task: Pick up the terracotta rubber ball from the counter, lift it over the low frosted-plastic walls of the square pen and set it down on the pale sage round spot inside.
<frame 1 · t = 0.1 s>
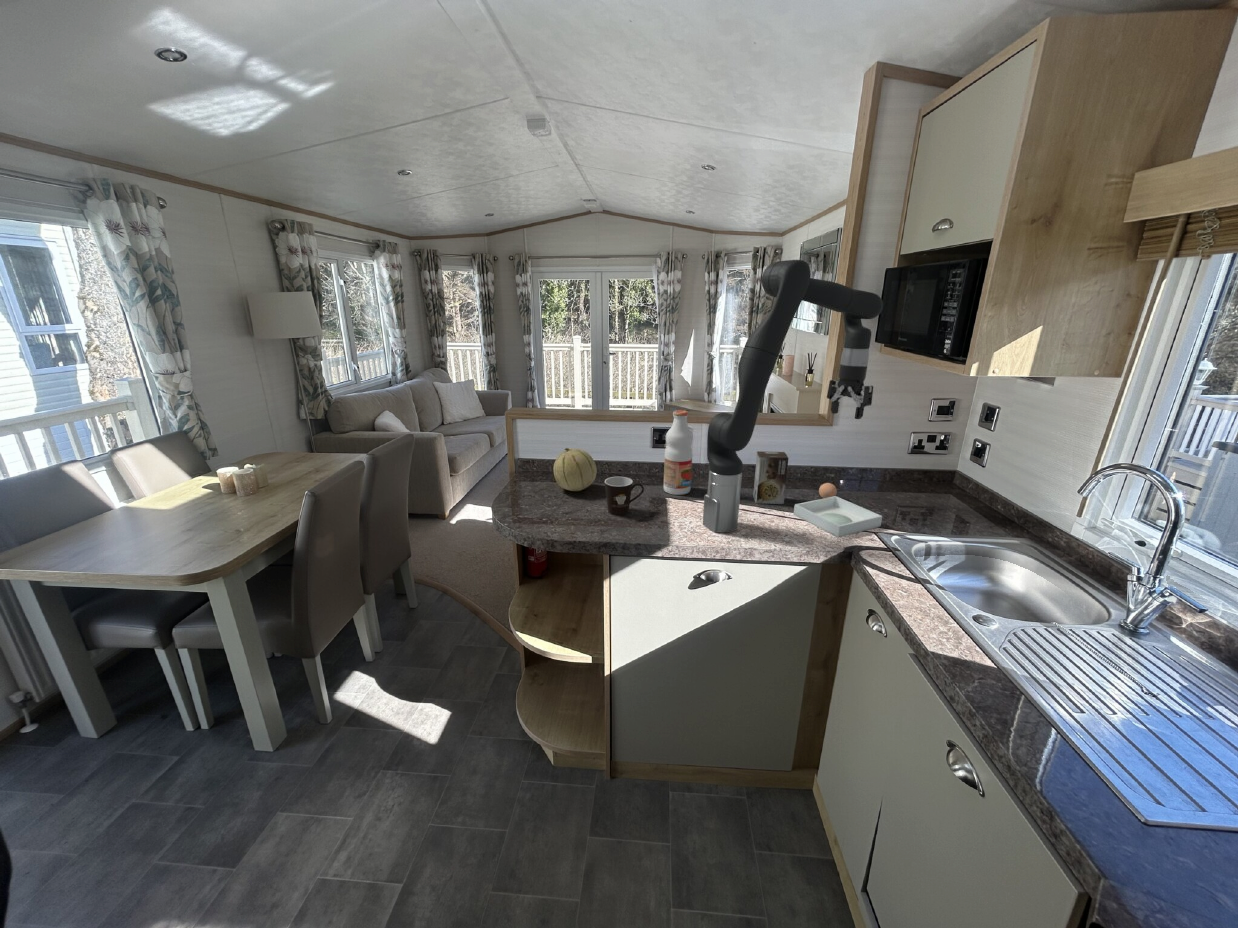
hand: (845, 416, 155), 29 cm above the worktop, tool pointing down, fingers open, 8 cm apart
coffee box: (767, 500, 165), on the worktop
fruit juice: (676, 491, 173), on the worktop
terracotta ball: (827, 491, 166), point 3 cm above the worktop
coffee mug: (623, 512, 155), on the worktop
cantaloupe: (575, 490, 173), on the worktop
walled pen: (835, 520, 150), on the worktop
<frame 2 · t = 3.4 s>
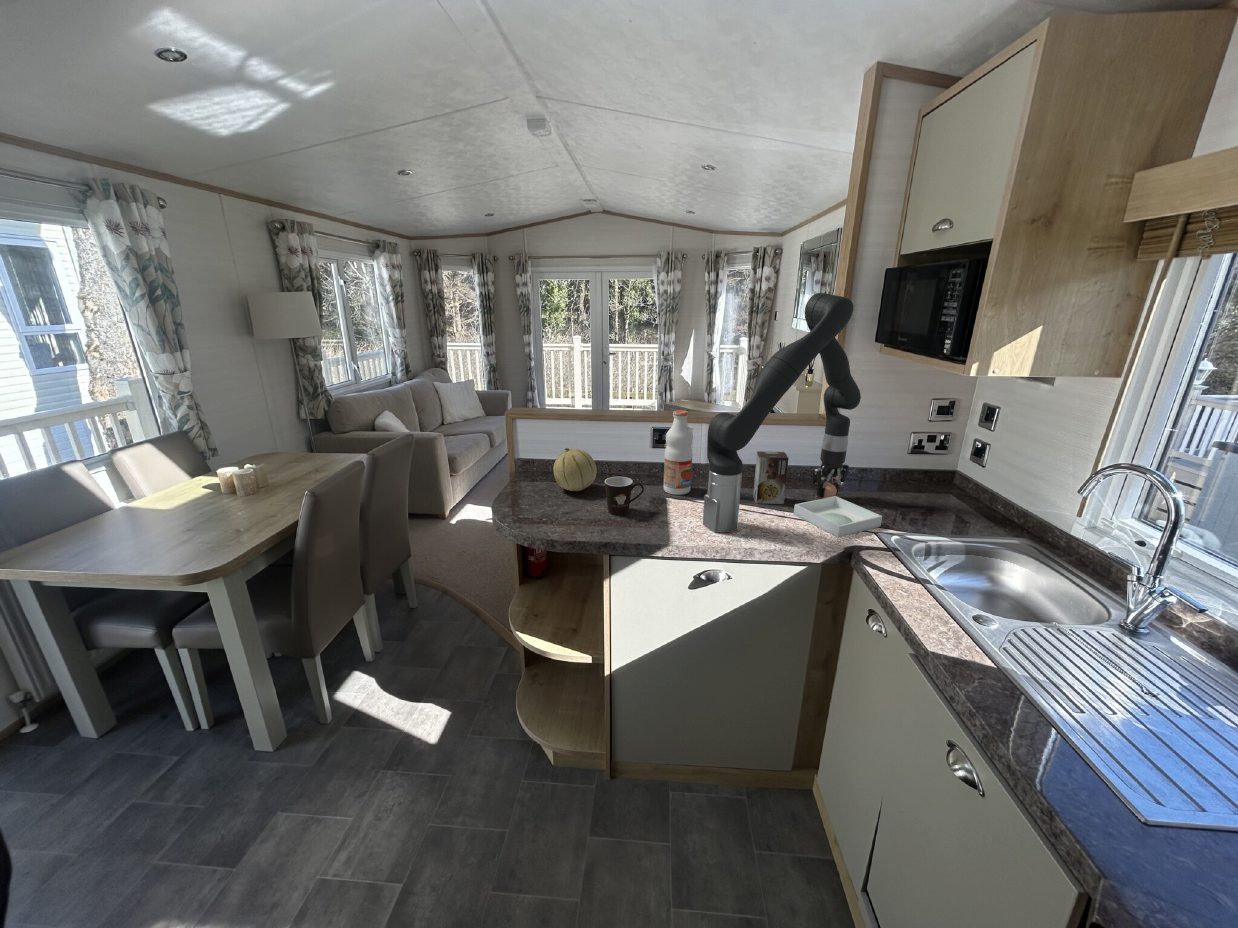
hand: (827, 495, 166), 1 cm above the worktop, tool pointing down, fingers closed on terracotta ball, 5 cm apart
terracotta ball: (827, 491, 166), point 3 cm above the worktop, touching gripper
everything else where it was.
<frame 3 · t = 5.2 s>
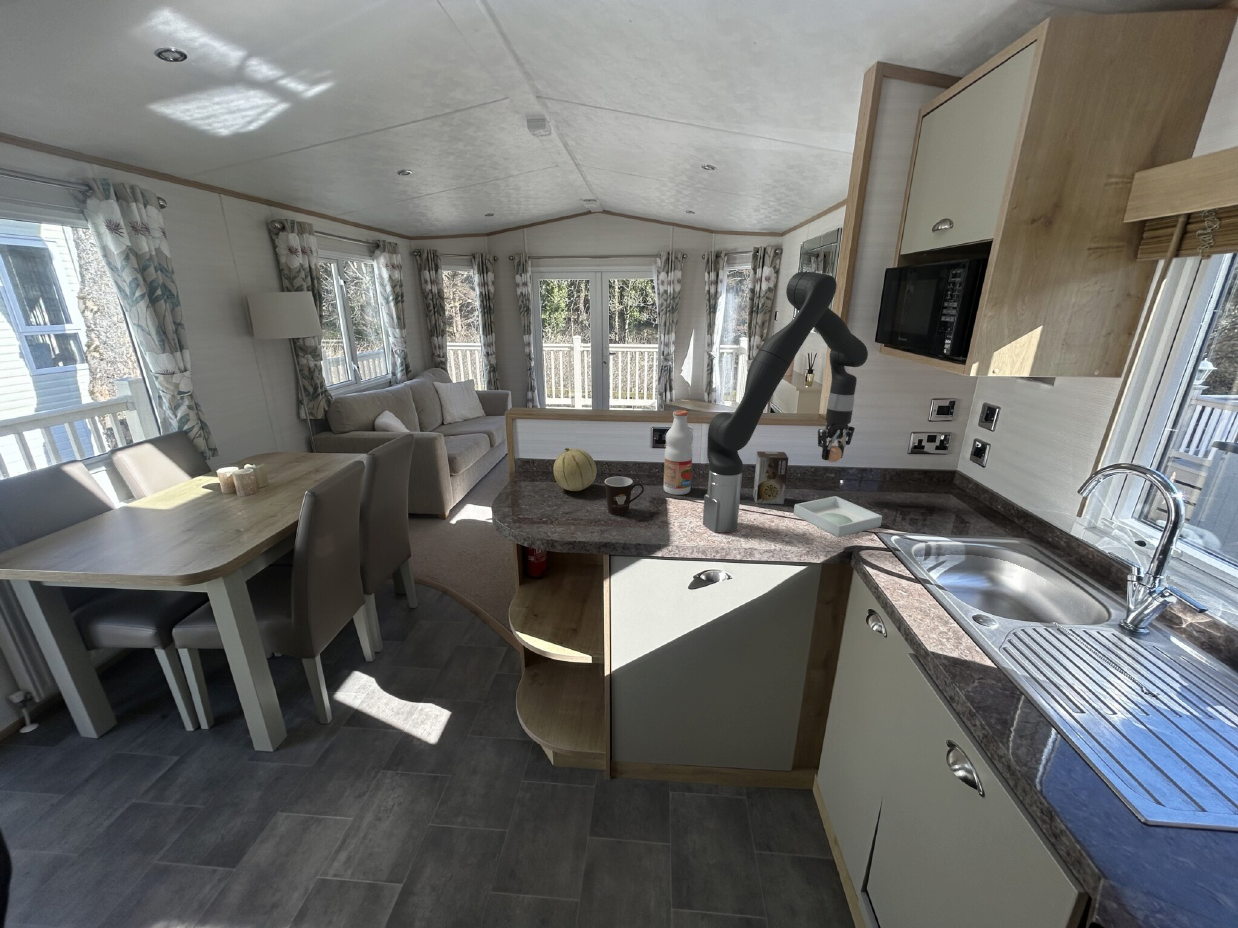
hand: (832, 458, 162), 14 cm above the worktop, tool pointing down, fingers closed on terracotta ball, 5 cm apart
terracotta ball: (832, 453, 162), point 16 cm above the worktop, touching gripper
everything else where it was.
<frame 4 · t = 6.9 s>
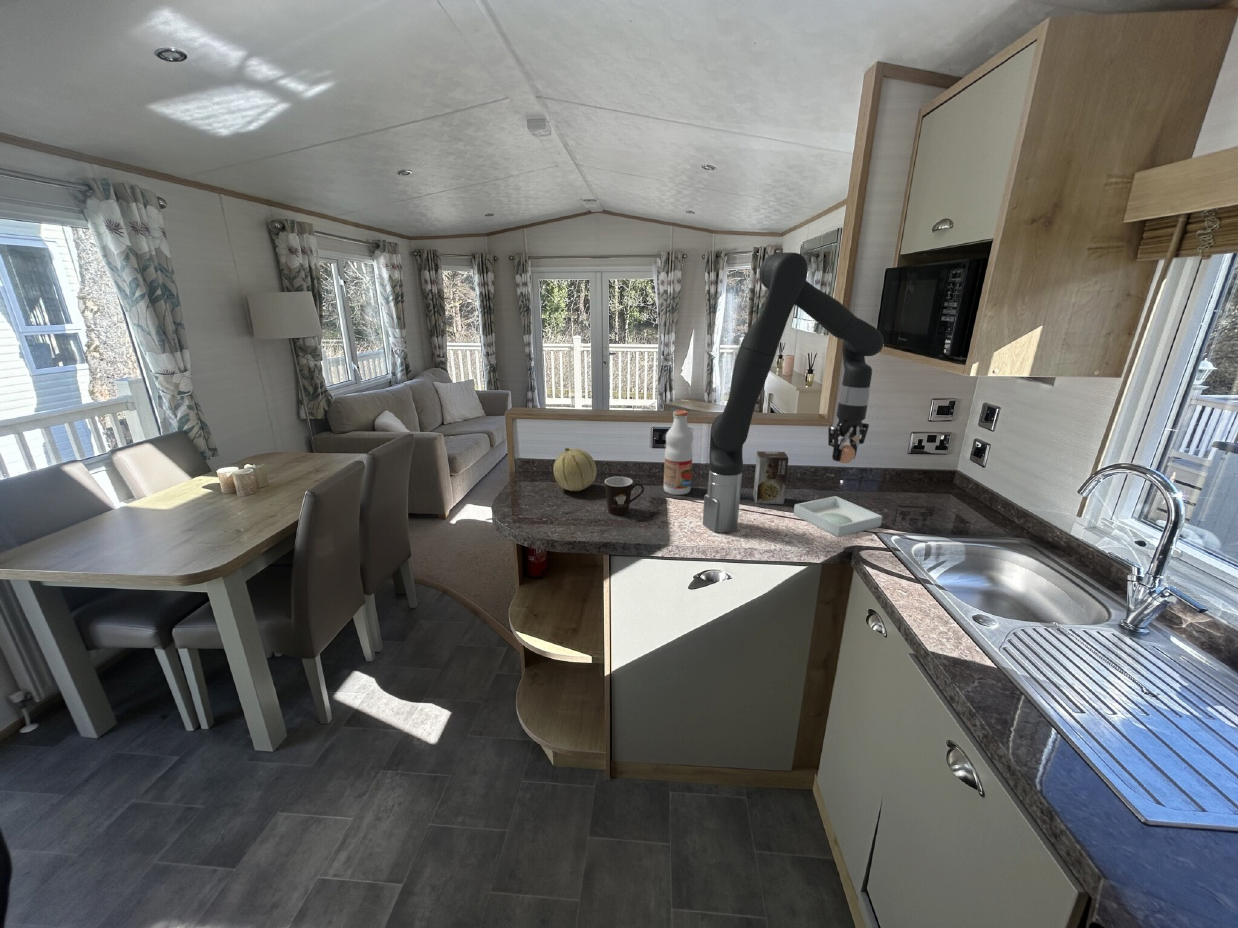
hand: (843, 459, 145), 19 cm above the worktop, tool pointing down, fingers closed on terracotta ball, 5 cm apart
terracotta ball: (844, 453, 145), point 21 cm above the worktop, touching gripper
everything else where it was.
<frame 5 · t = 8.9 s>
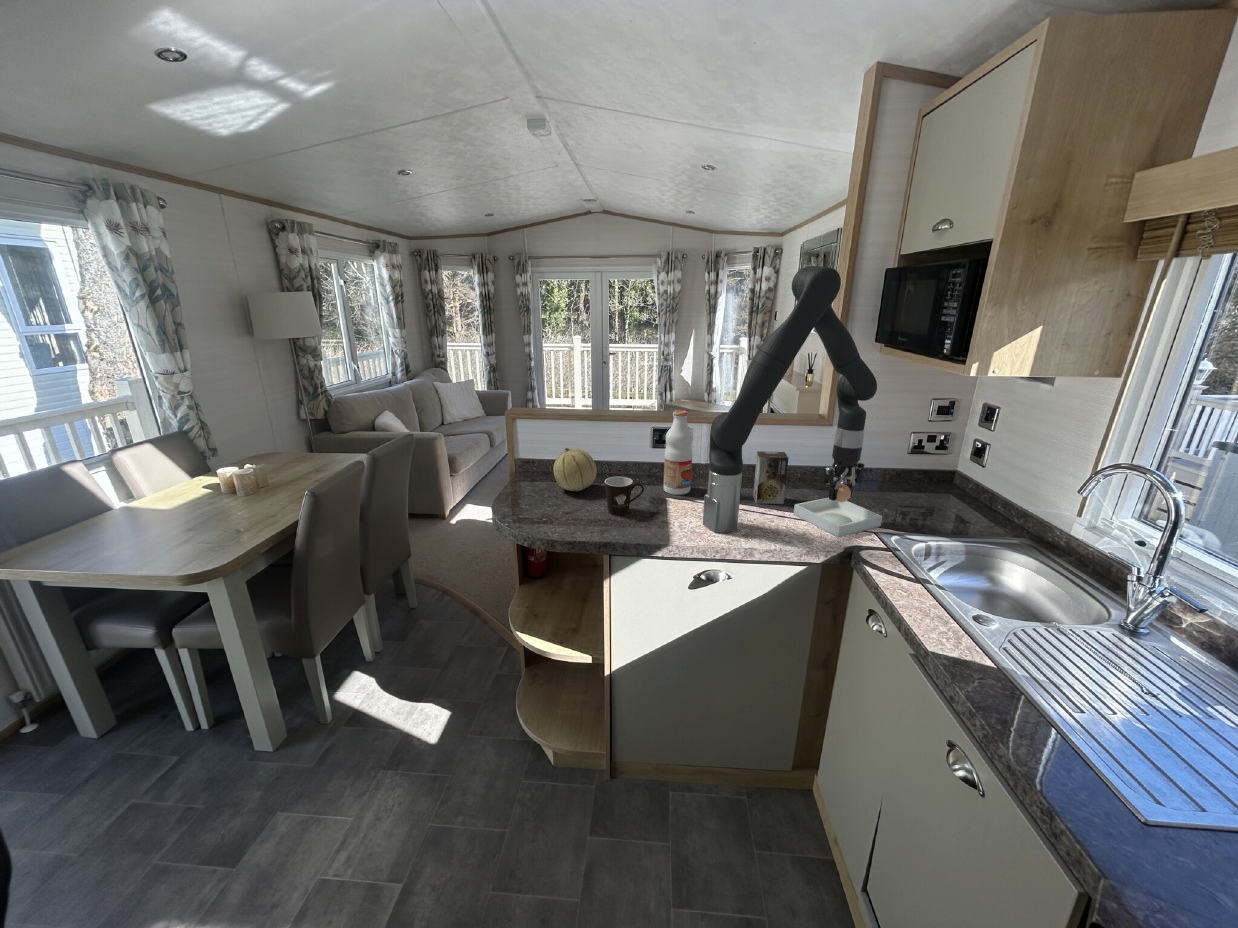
hand: (839, 498, 148), 7 cm above the worktop, tool pointing down, fingers closed on terracotta ball, 5 cm apart
terracotta ball: (840, 493, 147), point 9 cm above the worktop, touching gripper
everything else where it was.
when the fingers open (2 cm above the worktop, at t = 10.4 s): terracotta ball stays where it is, resting on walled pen.
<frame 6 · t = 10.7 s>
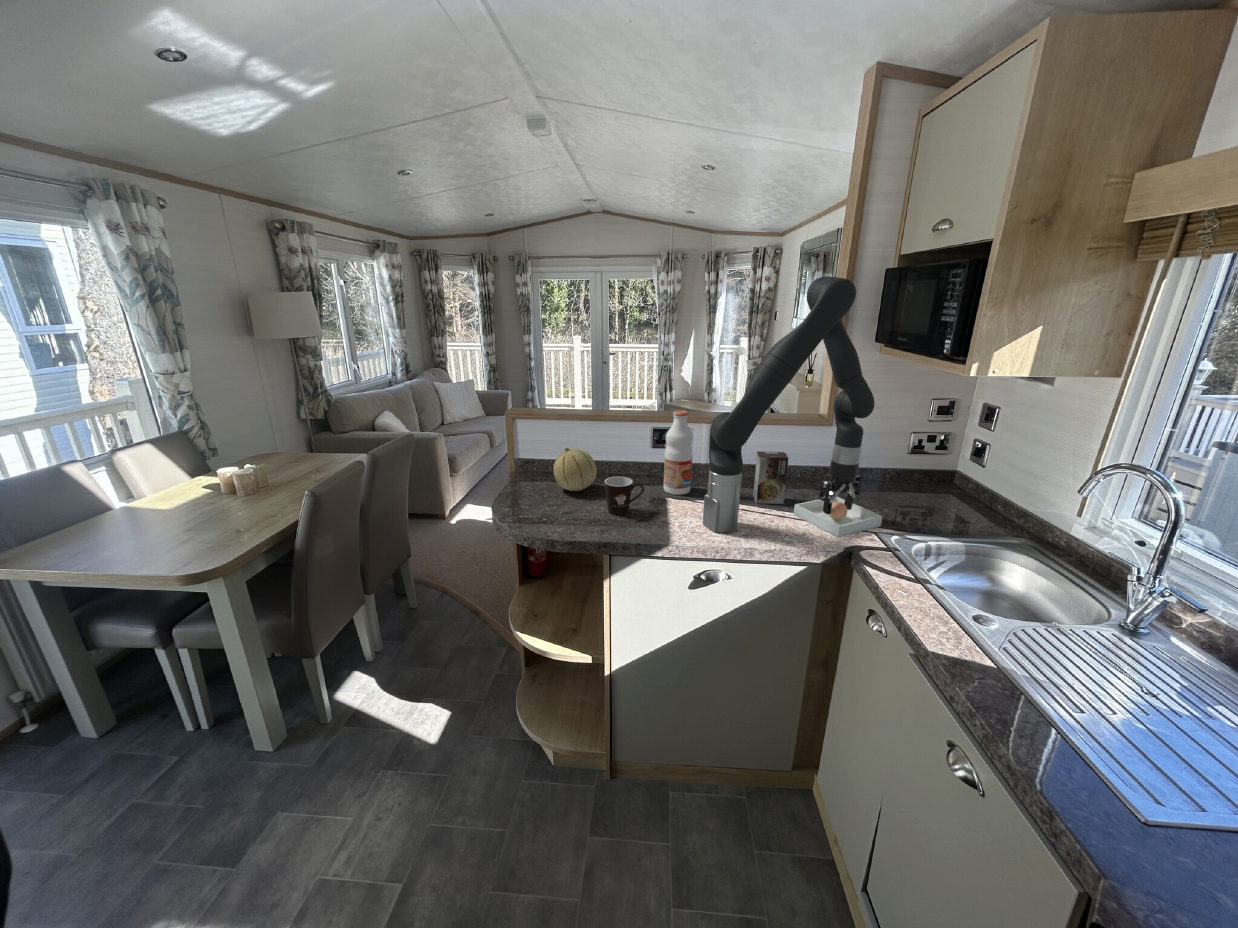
hand: (837, 511, 149), 3 cm above the worktop, tool pointing down, fingers open, 8 cm apart
terracotta ball: (837, 510, 149), point 3 cm above the worktop, touching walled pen
everything else where it was.
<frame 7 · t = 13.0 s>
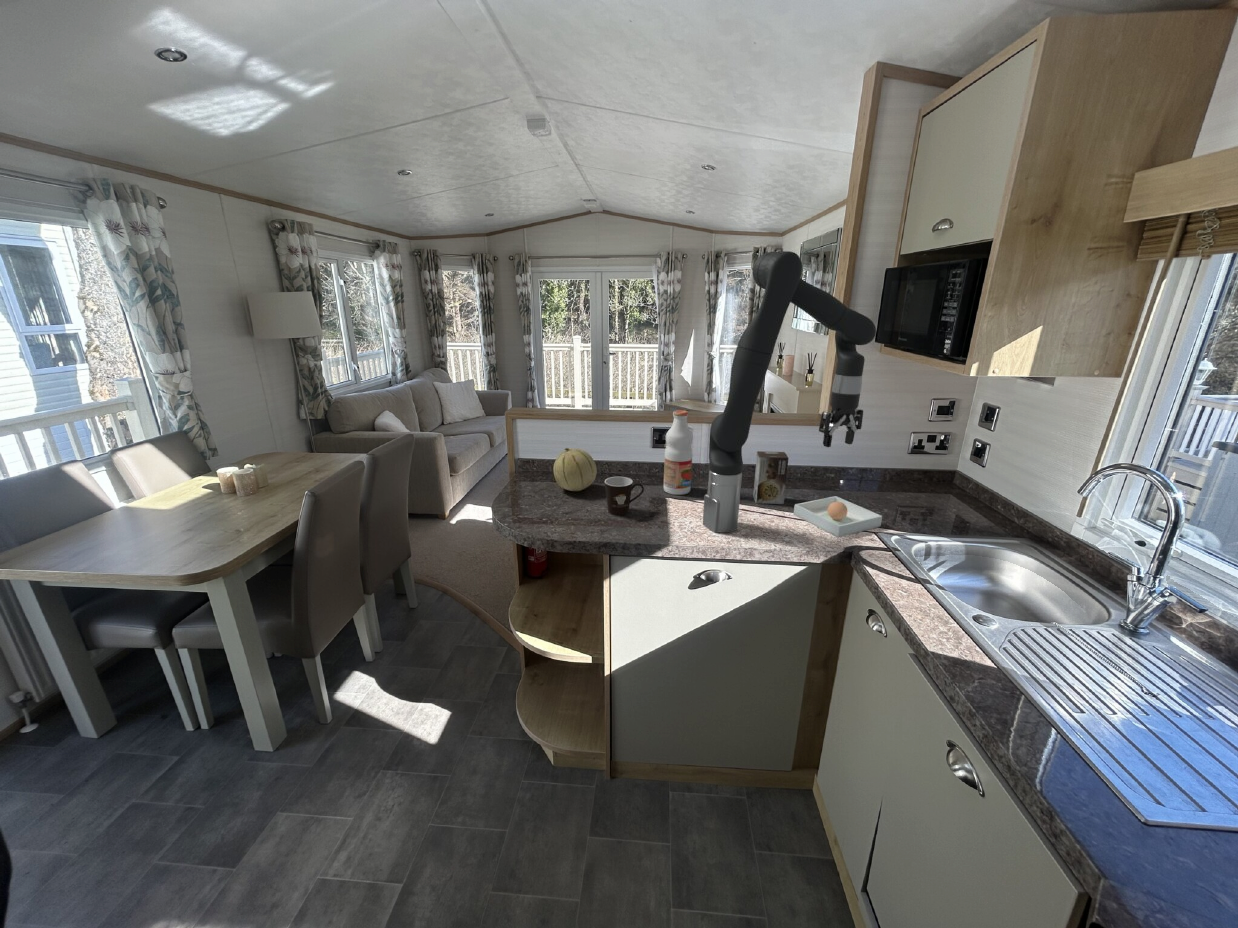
hand: (837, 445, 148), 22 cm above the worktop, tool pointing down, fingers open, 8 cm apart
nothing on the worktop moved.
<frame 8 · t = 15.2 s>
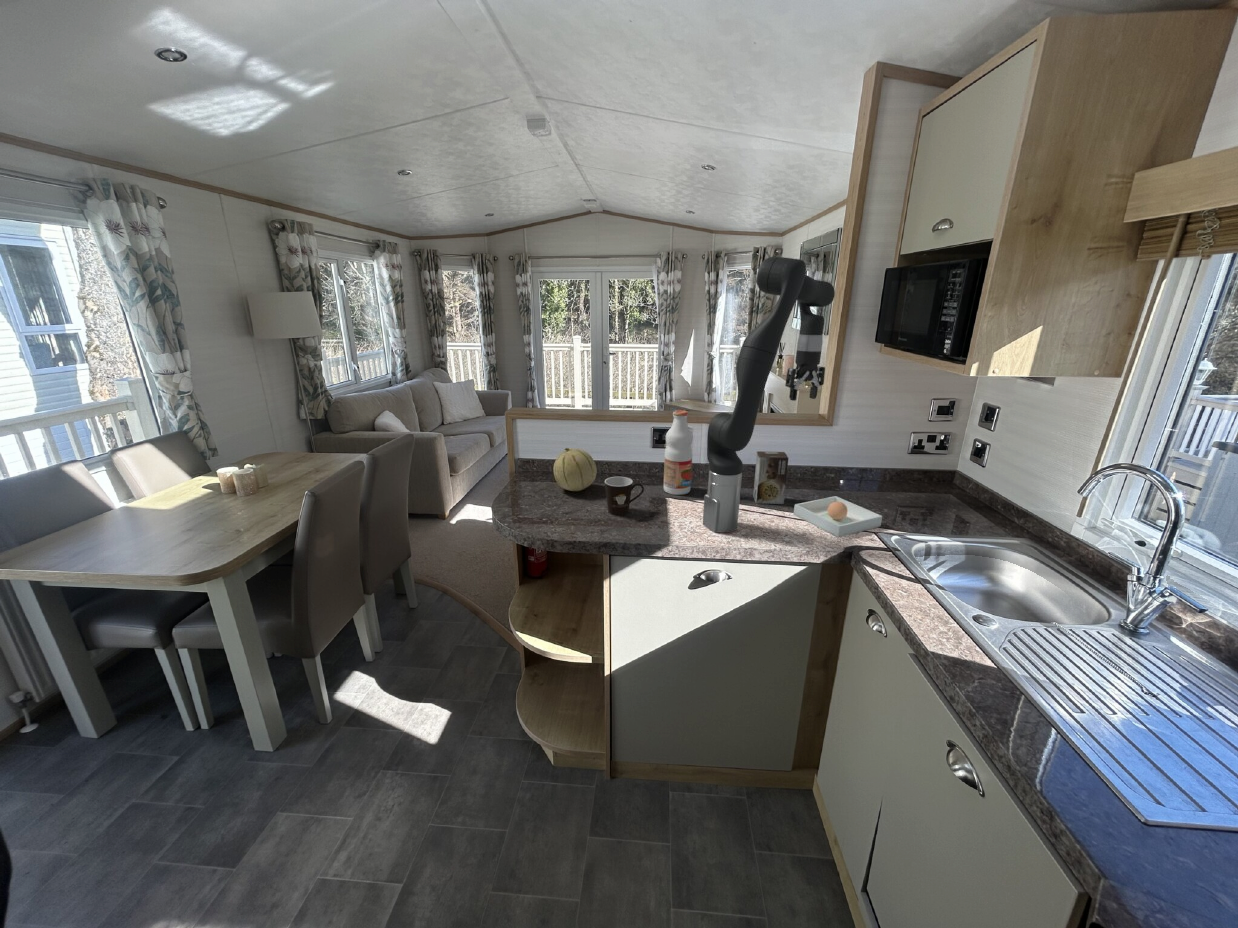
hand: (802, 399, 164), 32 cm above the worktop, tool pointing down, fingers open, 8 cm apart
nothing on the worktop moved.
at the end: terracotta ball inside the target area on the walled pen (0.0 cm from its centre), point 3.2 cm above the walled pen's base; the gripper is holding nothing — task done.
